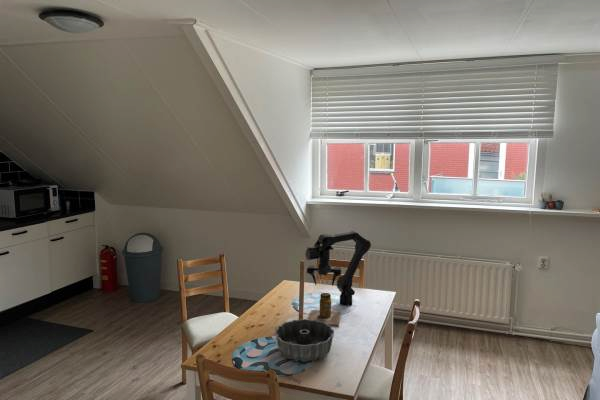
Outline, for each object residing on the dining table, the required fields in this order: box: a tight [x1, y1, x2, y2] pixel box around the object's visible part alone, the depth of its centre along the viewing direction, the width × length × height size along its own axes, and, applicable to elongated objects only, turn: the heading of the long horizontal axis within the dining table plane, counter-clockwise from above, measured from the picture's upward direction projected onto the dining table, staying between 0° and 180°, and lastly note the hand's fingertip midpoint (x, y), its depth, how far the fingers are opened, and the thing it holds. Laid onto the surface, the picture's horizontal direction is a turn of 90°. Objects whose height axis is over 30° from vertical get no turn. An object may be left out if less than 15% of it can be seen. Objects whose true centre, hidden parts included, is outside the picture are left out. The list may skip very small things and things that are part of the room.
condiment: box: [316, 292, 333, 321], centre depth 230 cm, size 7×8×12 cm
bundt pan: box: [274, 318, 335, 362], centre depth 196 cm, size 26×26×10 cm
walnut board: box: [307, 309, 342, 328], centre depth 231 cm, size 16×16×1 cm
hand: (324, 285), depth 244 cm, fingers open, 9 cm apart
